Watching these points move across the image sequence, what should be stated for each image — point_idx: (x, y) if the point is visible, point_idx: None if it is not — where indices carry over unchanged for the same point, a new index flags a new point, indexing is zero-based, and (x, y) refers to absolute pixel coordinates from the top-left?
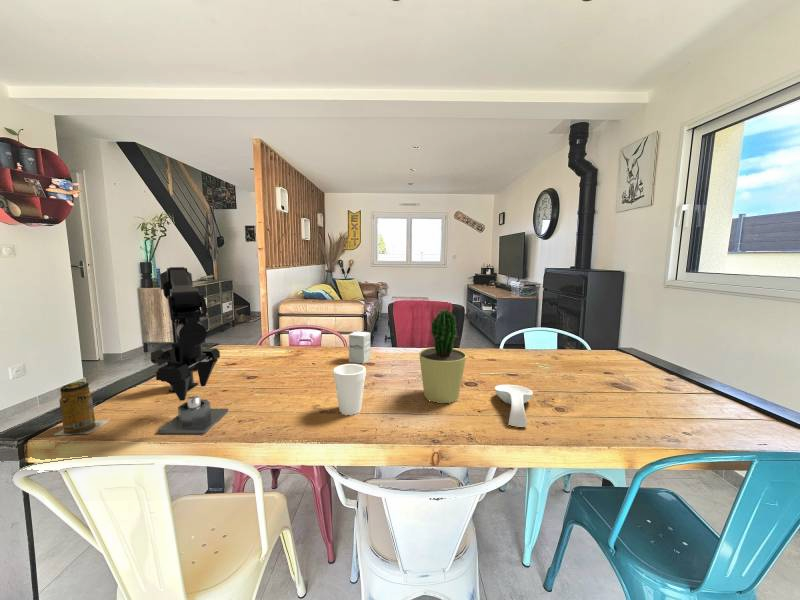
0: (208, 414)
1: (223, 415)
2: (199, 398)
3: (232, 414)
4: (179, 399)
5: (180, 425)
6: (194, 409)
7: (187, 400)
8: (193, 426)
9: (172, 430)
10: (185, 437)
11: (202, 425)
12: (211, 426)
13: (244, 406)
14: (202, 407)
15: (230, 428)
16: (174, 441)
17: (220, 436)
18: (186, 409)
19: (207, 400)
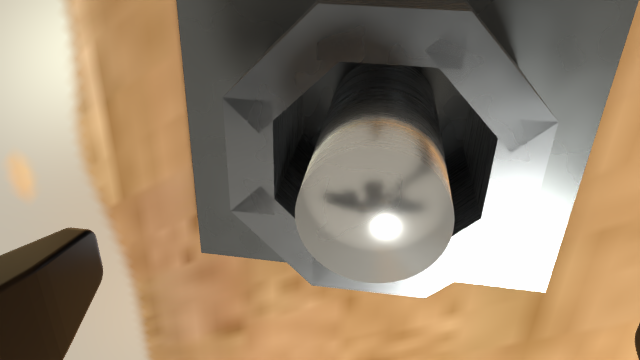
0: None
1: None
2: (374, 278)
3: (482, 309)
4: (54, 235)
5: (259, 42)
6: (267, 220)
7: (316, 165)
8: None
9: (180, 16)
10: (158, 136)
11: None
12: None
13: (613, 349)
14: (313, 272)
15: (282, 344)
16: (101, 88)
17: (193, 322)
18: (262, 143)
19: (492, 257)
